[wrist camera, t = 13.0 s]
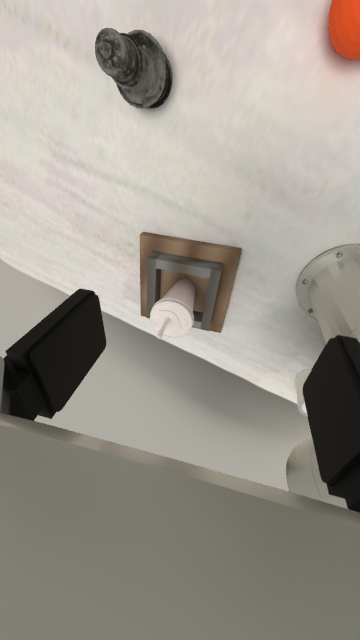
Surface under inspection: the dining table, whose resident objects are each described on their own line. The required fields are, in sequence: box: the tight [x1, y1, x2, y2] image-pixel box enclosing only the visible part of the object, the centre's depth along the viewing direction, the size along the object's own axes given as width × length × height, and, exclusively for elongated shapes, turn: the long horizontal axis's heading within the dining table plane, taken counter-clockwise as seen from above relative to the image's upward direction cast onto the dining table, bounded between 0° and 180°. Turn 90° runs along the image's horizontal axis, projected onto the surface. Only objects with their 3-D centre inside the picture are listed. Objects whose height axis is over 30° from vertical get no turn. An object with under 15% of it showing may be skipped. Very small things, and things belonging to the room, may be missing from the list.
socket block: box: [140, 232, 241, 333], centre depth 41 cm, size 16×16×4 cm
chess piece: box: [95, 28, 172, 108], centre depth 24 cm, size 6×6×12 cm
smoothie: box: [150, 279, 195, 339], centre depth 37 cm, size 6×6×14 cm
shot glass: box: [296, 369, 312, 417], centre depth 47 cm, size 7×7×7 cm
